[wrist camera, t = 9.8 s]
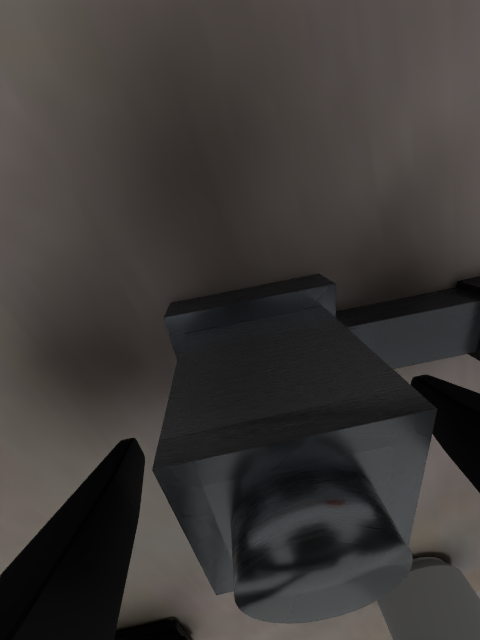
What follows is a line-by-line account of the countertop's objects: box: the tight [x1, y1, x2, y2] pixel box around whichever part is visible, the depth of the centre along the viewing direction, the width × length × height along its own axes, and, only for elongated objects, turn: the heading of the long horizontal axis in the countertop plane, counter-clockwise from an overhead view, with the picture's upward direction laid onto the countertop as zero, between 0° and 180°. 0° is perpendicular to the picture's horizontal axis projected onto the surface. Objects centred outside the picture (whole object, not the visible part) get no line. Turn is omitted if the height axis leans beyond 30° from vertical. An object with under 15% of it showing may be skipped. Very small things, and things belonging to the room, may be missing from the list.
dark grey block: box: [152, 306, 437, 623], centre depth 7 cm, size 5×5×6 cm
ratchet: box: [164, 274, 480, 369], centre depth 9 cm, size 20×6×4 cm, turn 100°
